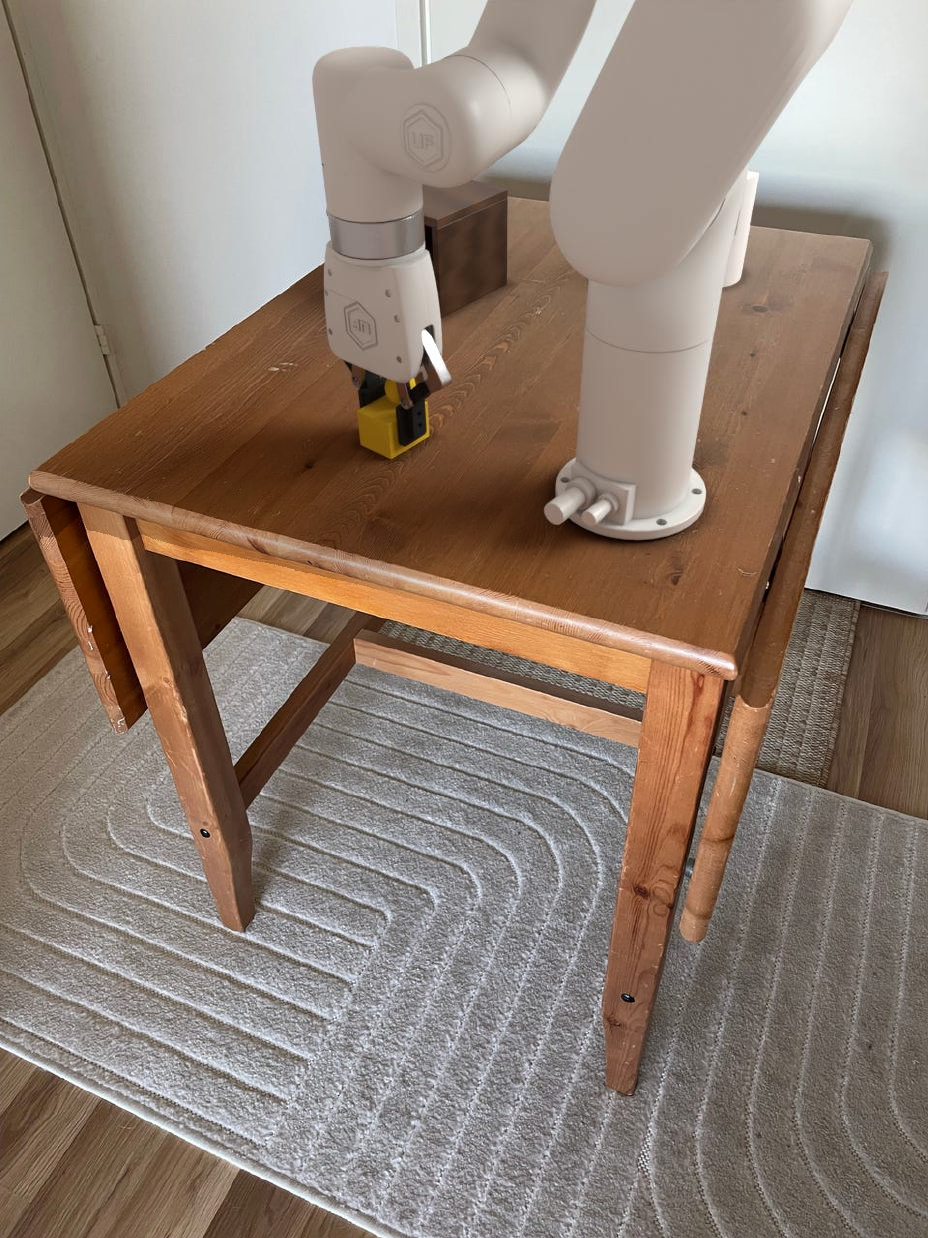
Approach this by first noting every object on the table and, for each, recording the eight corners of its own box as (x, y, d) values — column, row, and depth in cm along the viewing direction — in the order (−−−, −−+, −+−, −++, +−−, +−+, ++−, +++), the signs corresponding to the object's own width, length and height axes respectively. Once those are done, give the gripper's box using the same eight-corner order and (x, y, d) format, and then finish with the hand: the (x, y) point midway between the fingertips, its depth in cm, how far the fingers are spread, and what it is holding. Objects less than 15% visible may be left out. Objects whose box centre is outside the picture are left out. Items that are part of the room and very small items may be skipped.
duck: (391, 459, 85) (385, 396, 80) (360, 444, 87) (353, 382, 82) (439, 429, 88) (436, 367, 84) (409, 416, 90) (404, 355, 86)
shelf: (441, 318, 106) (436, 219, 98) (343, 282, 114) (333, 188, 106) (507, 283, 112) (507, 188, 105) (411, 252, 120) (405, 161, 113)
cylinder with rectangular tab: (651, 275, 113) (663, 170, 105) (691, 253, 118) (706, 151, 110) (715, 295, 109) (733, 187, 101) (755, 271, 113) (775, 166, 105)
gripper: (272, 220, 76) (303, 418, 88) (422, 271, 68) (433, 481, 80) (339, 195, 80) (360, 387, 93) (488, 240, 72) (489, 444, 84)
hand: (394, 429), depth 86 cm, fingers closed on duck, 4 cm apart
